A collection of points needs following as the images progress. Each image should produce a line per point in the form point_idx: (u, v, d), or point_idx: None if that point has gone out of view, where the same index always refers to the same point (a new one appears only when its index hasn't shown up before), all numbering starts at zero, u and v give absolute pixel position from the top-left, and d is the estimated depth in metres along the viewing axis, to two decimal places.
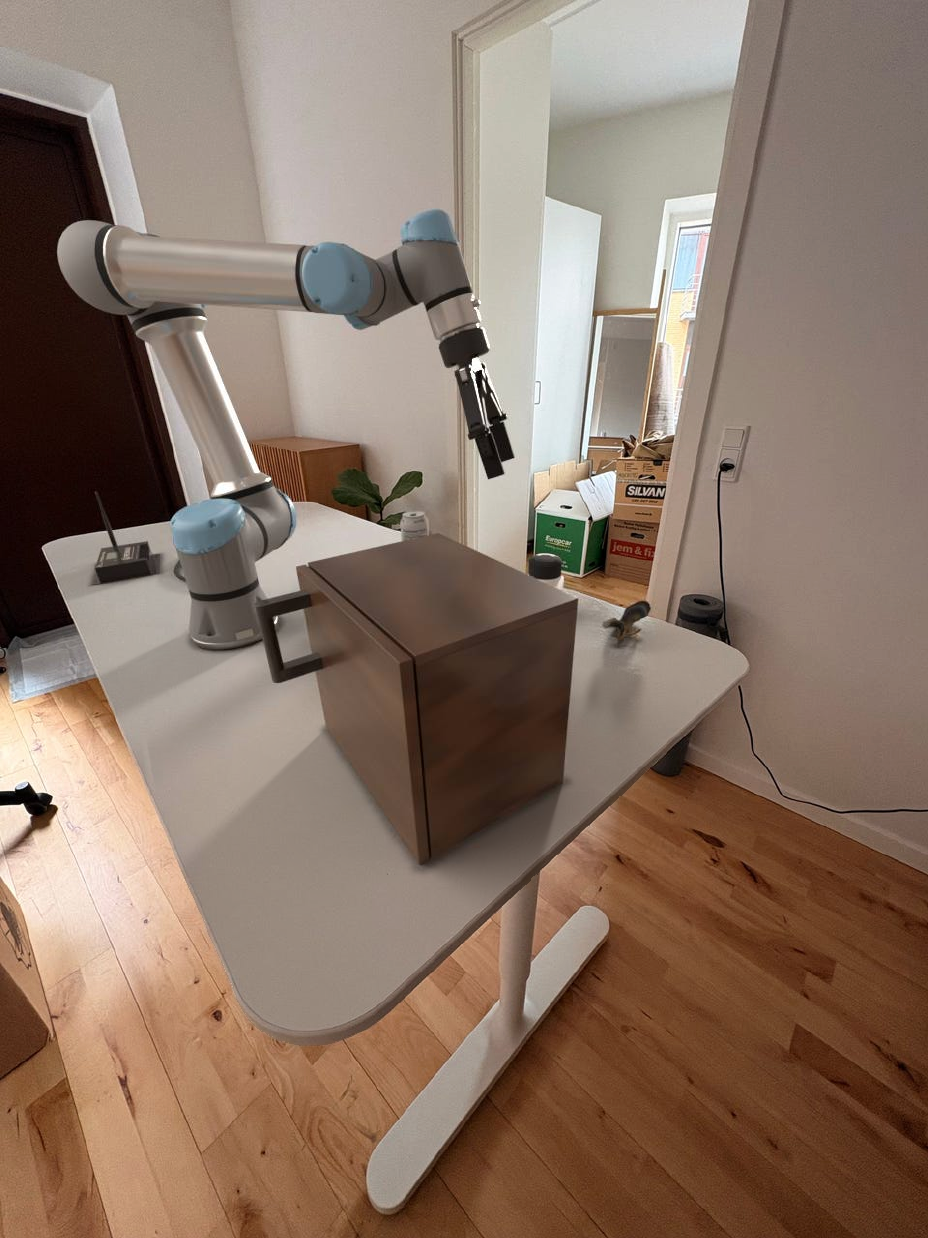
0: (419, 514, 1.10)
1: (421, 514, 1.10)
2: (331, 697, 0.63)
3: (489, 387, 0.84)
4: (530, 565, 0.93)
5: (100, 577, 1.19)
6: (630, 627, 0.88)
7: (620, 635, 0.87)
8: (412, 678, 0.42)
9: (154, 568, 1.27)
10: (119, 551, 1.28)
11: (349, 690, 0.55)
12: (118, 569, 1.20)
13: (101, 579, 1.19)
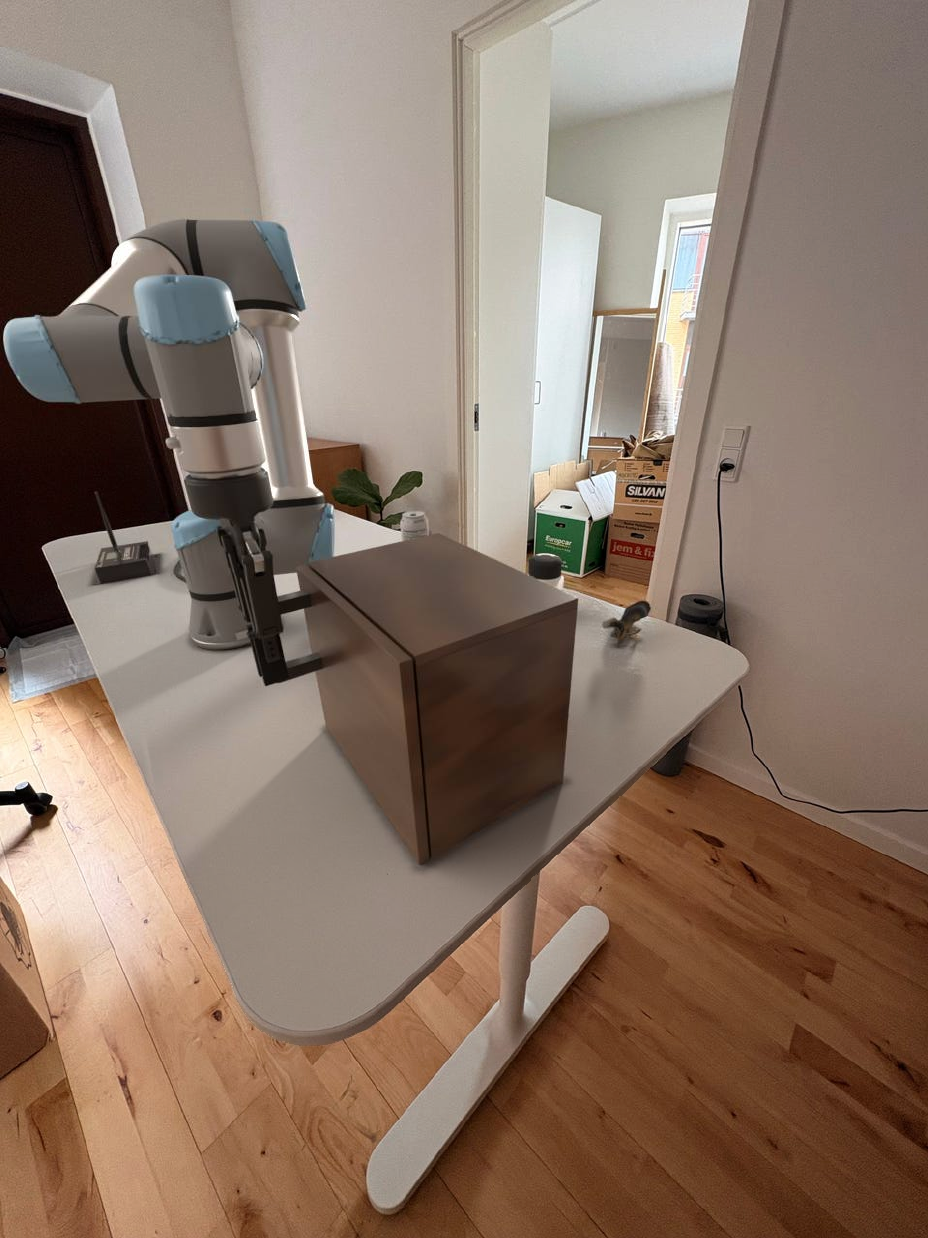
0: (419, 514, 1.10)
1: (421, 514, 1.10)
2: (331, 697, 0.63)
3: None
4: (530, 565, 0.93)
5: (100, 577, 1.19)
6: (630, 627, 0.88)
7: (620, 635, 0.87)
8: (412, 678, 0.42)
9: (154, 568, 1.27)
10: (119, 551, 1.28)
11: (349, 690, 0.55)
12: (118, 569, 1.20)
13: (101, 579, 1.19)
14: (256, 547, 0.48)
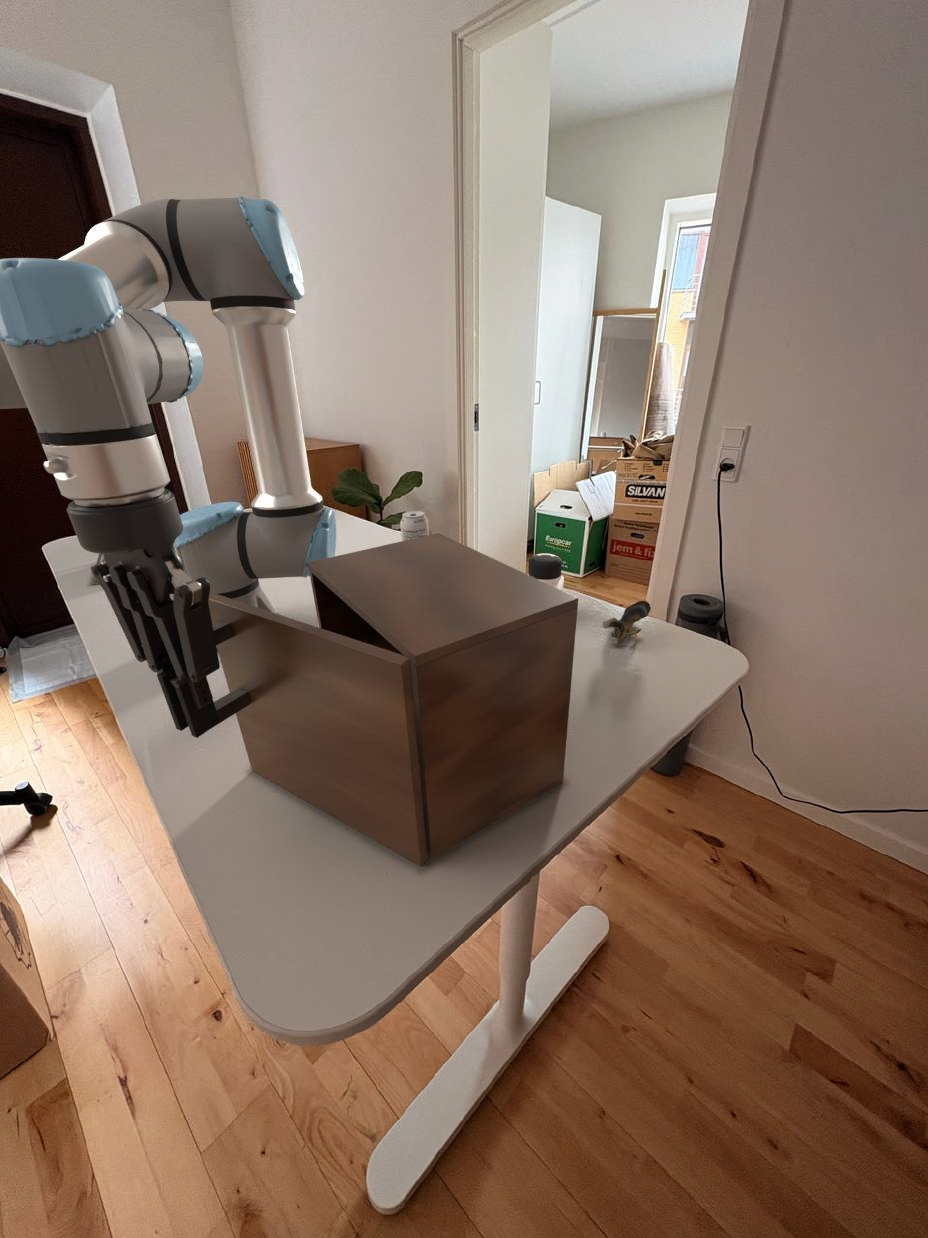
0: (419, 514, 1.10)
1: (421, 514, 1.10)
2: (266, 732, 0.57)
3: None
4: (530, 565, 0.93)
5: None
6: (630, 627, 0.88)
7: (620, 635, 0.87)
8: (410, 677, 0.42)
9: None
10: None
11: (304, 715, 0.51)
12: None
13: None
14: (186, 576, 0.42)
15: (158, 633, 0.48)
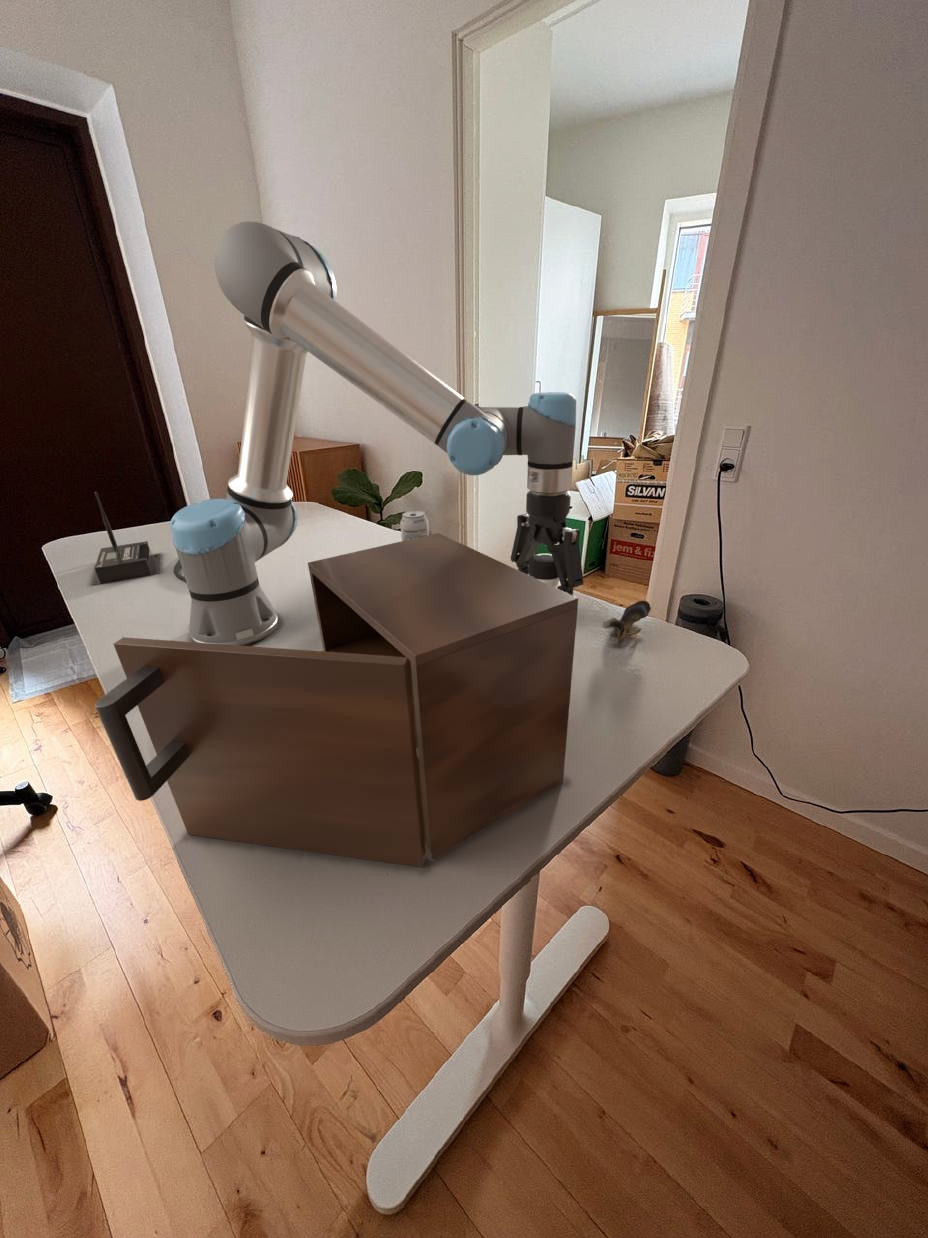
0: (419, 514, 1.10)
1: (421, 514, 1.10)
2: (213, 783, 0.50)
3: (547, 545, 0.90)
4: (530, 565, 0.93)
5: (100, 577, 1.19)
6: (630, 627, 0.88)
7: (620, 635, 0.87)
8: (409, 677, 0.42)
9: (154, 568, 1.27)
10: (119, 551, 1.28)
11: (271, 749, 0.47)
12: (118, 569, 1.20)
13: (101, 579, 1.19)
14: (569, 528, 0.87)
15: (530, 553, 0.97)
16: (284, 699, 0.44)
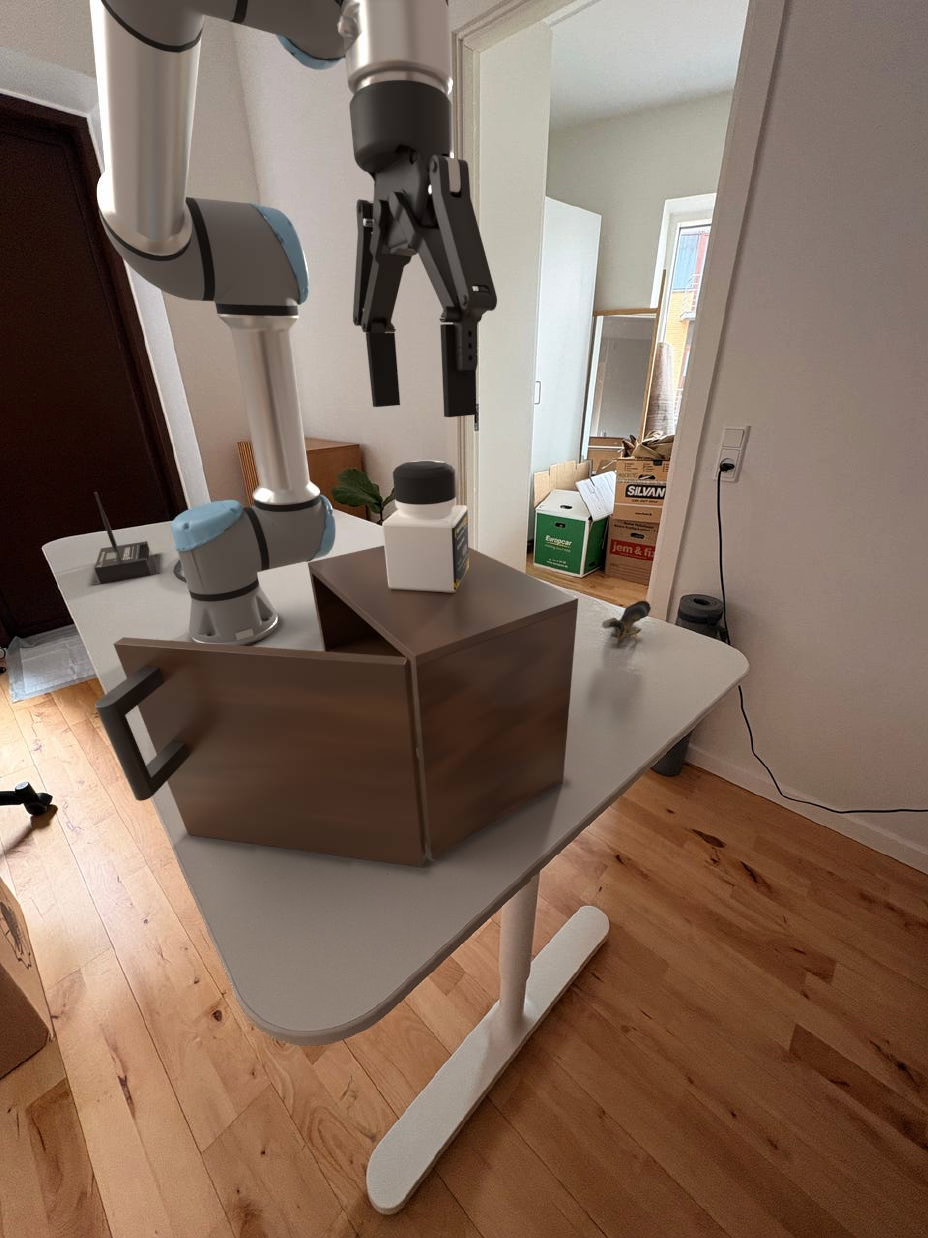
0: None
1: None
2: (213, 783, 0.50)
3: None
4: (394, 478, 0.49)
5: (100, 577, 1.19)
6: (630, 627, 0.88)
7: (620, 635, 0.87)
8: (409, 677, 0.42)
9: (154, 568, 1.27)
10: (119, 551, 1.28)
11: (271, 749, 0.47)
12: (118, 569, 1.20)
13: (101, 579, 1.19)
14: None
15: (383, 296, 0.47)
16: (284, 699, 0.44)
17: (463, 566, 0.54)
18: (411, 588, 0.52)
